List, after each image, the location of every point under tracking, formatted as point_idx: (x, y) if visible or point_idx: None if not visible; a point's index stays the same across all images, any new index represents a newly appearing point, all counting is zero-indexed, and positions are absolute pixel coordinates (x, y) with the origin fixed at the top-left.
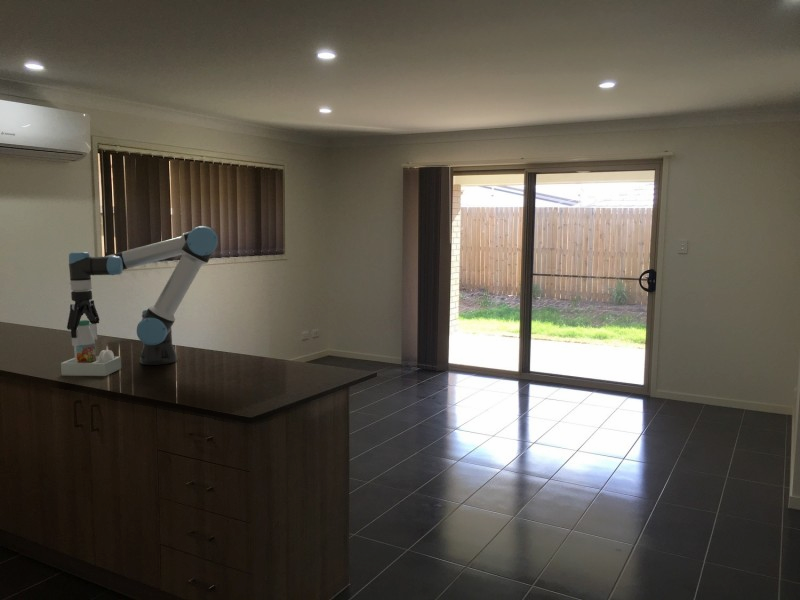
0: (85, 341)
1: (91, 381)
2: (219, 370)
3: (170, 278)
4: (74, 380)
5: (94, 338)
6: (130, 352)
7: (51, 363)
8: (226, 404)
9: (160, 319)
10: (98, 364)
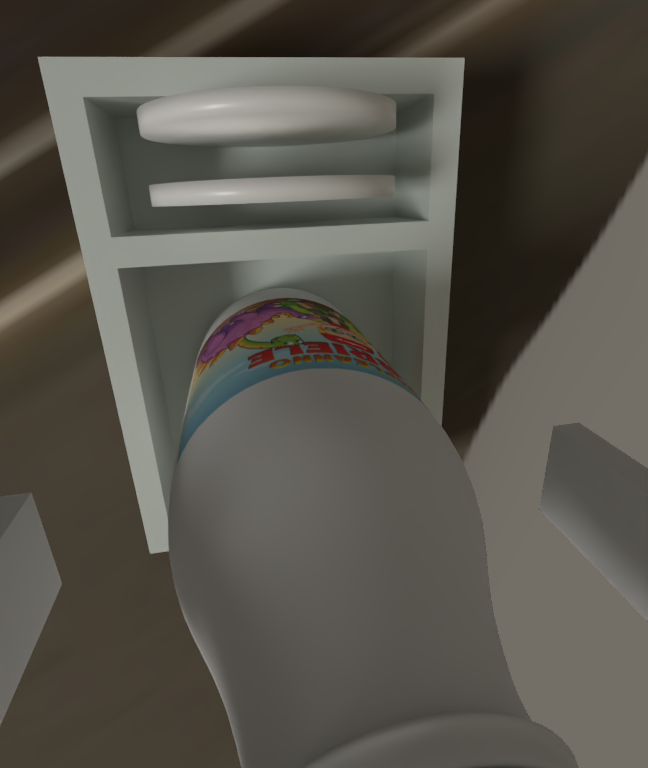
0: (449, 441)
1: (591, 115)
2: None
3: None
4: (546, 278)
5: (36, 534)
6: None
7: (88, 721)
8: None
9: None
10: (454, 148)
